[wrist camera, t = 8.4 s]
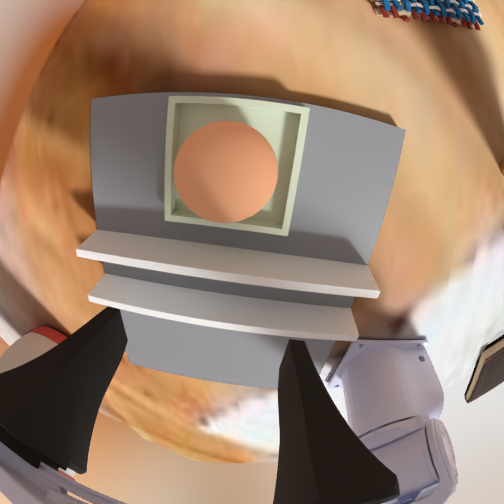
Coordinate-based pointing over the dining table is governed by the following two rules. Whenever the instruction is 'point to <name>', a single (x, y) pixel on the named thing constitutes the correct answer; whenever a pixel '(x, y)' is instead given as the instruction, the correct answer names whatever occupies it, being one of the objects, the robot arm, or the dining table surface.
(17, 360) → the citrus juicer
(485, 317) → the dining table surface
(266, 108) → the dish
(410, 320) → the dining table surface
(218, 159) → the ball
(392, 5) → the woven mat
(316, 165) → the grey ridged board
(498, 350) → the hardcover book
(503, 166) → the ice cream cone
